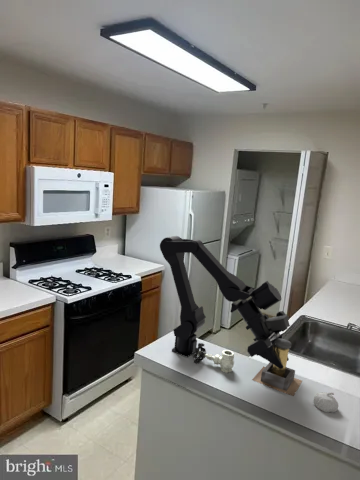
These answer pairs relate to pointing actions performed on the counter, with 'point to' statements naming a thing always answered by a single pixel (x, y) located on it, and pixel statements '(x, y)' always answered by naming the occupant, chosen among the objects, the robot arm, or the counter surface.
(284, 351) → the grey-topped tan cylinder
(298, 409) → the counter surface
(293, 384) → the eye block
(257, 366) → the counter surface
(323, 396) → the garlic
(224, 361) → the valve
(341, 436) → the counter surface
